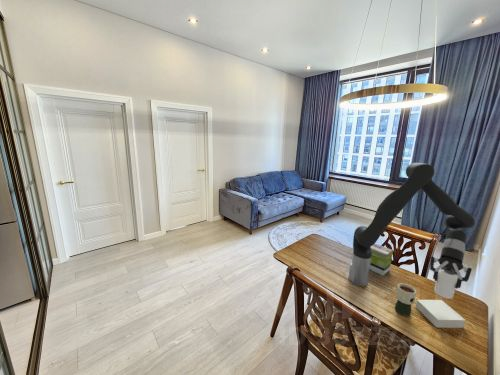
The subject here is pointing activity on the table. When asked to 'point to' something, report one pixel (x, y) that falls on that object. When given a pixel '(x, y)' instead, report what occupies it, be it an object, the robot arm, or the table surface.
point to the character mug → (405, 299)
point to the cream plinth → (440, 314)
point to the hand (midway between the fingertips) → (445, 284)
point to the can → (446, 283)
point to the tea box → (380, 259)
